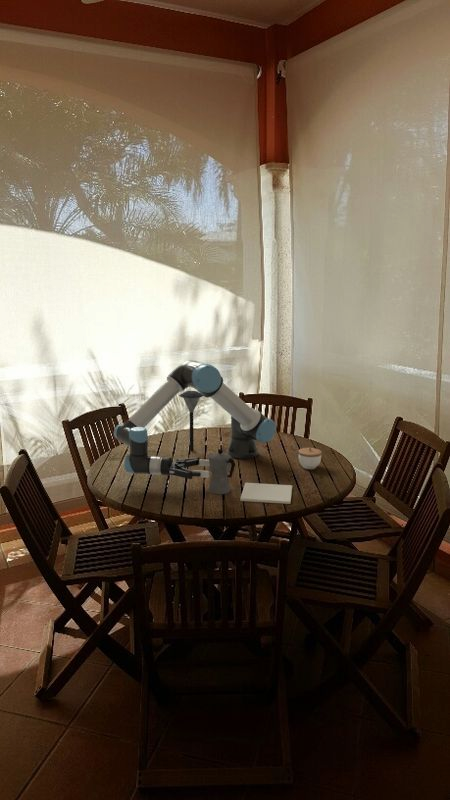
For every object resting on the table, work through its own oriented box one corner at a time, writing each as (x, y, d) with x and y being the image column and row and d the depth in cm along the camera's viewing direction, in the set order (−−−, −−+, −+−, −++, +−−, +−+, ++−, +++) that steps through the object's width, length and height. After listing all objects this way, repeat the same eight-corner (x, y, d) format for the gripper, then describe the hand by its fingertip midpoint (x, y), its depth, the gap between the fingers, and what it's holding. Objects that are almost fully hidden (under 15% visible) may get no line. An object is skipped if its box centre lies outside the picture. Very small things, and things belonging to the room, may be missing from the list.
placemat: (245, 484, 267) (245, 482, 266) (292, 487, 264) (292, 485, 264) (240, 500, 249) (240, 498, 249) (290, 503, 247) (290, 501, 246)
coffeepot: (200, 489, 261) (200, 448, 257) (217, 483, 268) (217, 443, 264) (225, 499, 251) (226, 456, 246) (242, 493, 257) (243, 451, 253)
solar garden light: (203, 454, 307) (203, 394, 301) (178, 453, 307) (178, 394, 301) (204, 446, 319) (204, 389, 313) (180, 446, 319) (180, 389, 313)
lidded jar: (320, 471, 284) (321, 452, 282) (296, 469, 286) (297, 450, 284) (321, 464, 294) (322, 445, 292) (298, 462, 296) (299, 443, 294)
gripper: (168, 464, 273) (216, 467, 270) (154, 484, 249) (206, 488, 246) (168, 448, 271) (216, 450, 268) (153, 467, 247) (206, 470, 244)
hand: (211, 468), depth 257 cm, fingers open, 13 cm apart
